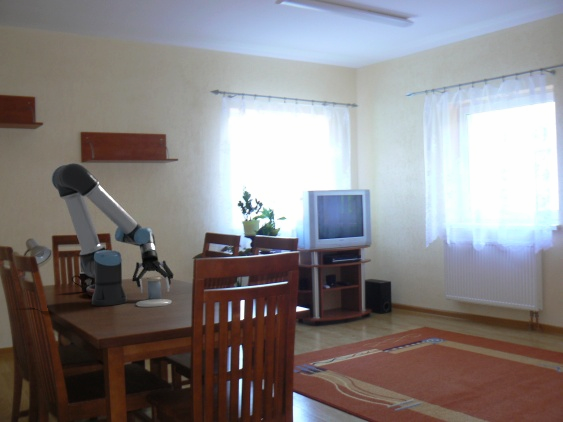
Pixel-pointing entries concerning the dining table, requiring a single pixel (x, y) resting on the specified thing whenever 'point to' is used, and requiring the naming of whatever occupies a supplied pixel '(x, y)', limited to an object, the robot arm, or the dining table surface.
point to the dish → (91, 290)
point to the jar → (154, 288)
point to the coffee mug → (85, 281)
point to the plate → (153, 303)
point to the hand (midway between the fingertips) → (155, 290)
